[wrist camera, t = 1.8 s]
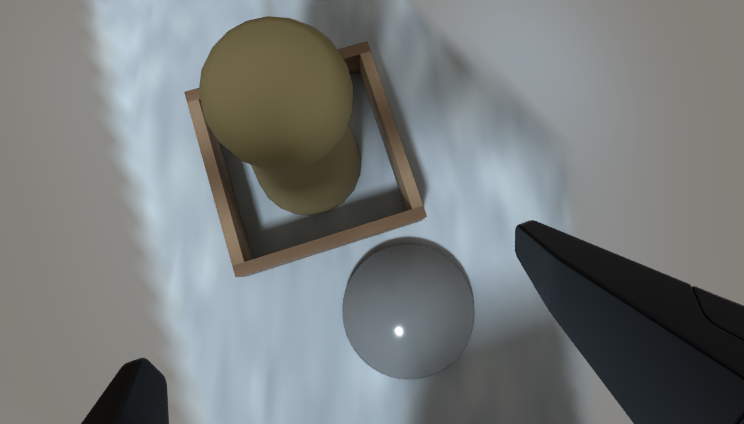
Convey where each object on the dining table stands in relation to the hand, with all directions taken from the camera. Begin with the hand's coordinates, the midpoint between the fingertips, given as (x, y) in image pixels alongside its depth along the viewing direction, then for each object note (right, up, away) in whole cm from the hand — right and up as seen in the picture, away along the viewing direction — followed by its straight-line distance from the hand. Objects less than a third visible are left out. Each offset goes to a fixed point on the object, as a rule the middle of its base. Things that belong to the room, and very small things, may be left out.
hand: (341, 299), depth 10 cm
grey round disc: (+3, -3, +13) cm, 14 cm away
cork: (-3, +5, +14) cm, 15 cm away
